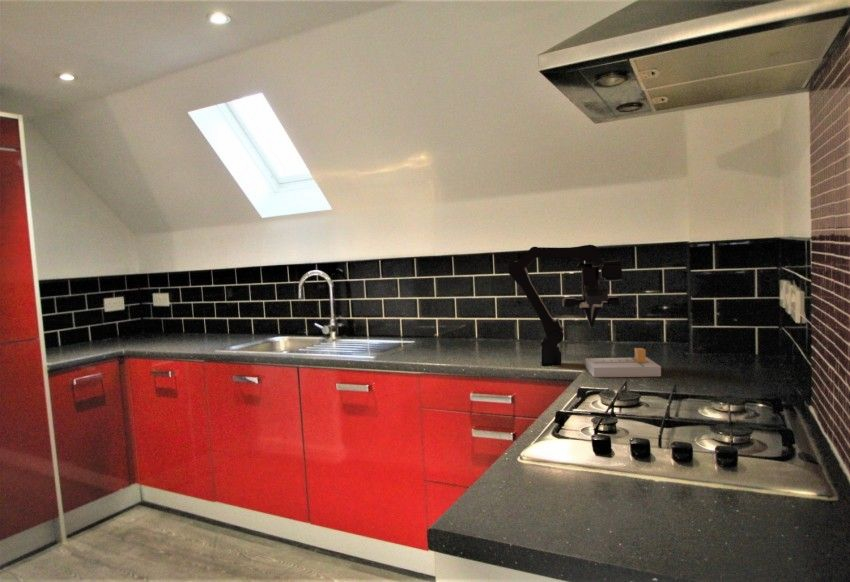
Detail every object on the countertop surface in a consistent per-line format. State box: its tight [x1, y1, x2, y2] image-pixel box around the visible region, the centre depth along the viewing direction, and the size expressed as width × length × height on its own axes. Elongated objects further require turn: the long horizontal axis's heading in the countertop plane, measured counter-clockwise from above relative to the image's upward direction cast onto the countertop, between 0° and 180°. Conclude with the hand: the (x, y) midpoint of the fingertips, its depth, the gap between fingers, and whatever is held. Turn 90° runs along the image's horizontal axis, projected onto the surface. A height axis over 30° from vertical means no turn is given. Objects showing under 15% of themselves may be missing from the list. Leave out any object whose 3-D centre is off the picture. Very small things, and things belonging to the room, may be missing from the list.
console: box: [584, 356, 662, 378], centre depth 189 cm, size 20×16×3 cm
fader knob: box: [634, 347, 647, 363], centre depth 188 cm, size 2×4×6 cm, turn 174°
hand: (591, 326), depth 202 cm, fingers closed
